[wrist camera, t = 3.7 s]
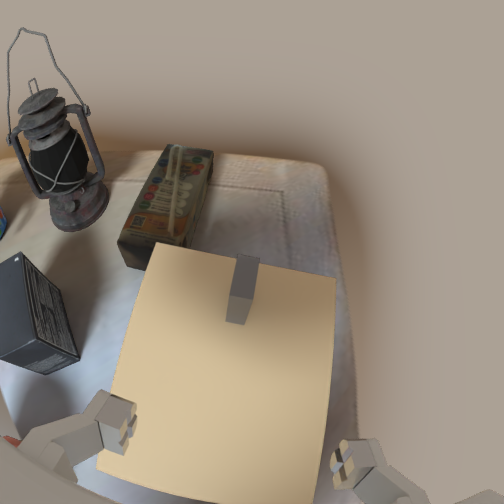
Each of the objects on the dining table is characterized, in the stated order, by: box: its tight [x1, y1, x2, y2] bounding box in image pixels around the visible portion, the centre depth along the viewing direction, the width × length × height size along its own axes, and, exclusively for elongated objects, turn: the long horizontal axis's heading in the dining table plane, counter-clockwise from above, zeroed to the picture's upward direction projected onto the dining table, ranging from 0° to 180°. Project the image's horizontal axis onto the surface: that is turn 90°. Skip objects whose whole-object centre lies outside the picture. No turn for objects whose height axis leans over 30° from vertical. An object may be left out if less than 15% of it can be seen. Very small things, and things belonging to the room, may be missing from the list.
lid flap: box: [96, 242, 336, 504], centre depth 18 cm, size 21×17×6 cm
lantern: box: [6, 27, 109, 232], centre depth 27 cm, size 12×11×30 cm
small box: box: [0, 251, 80, 375], centre depth 24 cm, size 11×6×10 cm, turn 31°
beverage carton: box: [117, 144, 214, 271], centre depth 38 cm, size 8×19×7 cm, turn 171°
